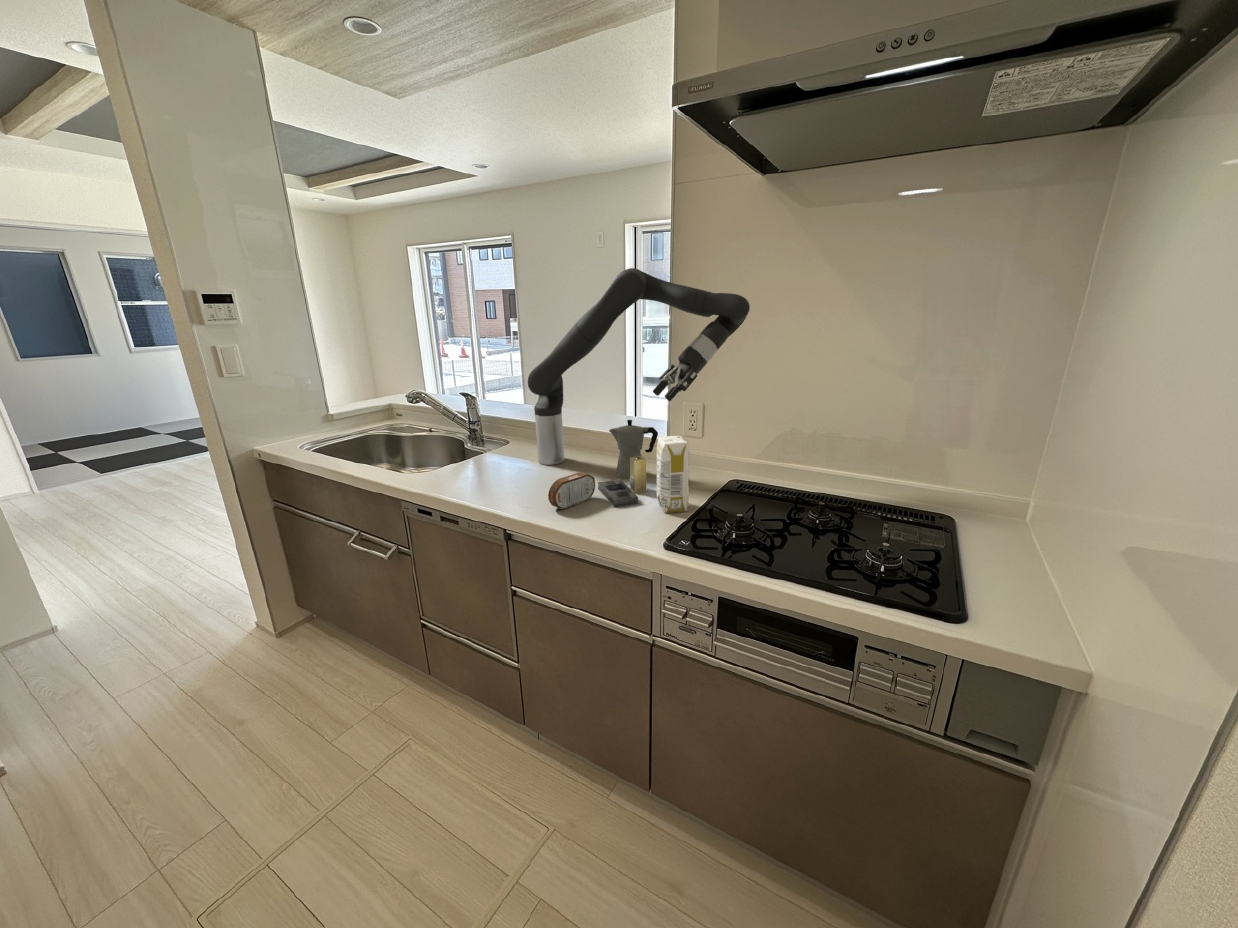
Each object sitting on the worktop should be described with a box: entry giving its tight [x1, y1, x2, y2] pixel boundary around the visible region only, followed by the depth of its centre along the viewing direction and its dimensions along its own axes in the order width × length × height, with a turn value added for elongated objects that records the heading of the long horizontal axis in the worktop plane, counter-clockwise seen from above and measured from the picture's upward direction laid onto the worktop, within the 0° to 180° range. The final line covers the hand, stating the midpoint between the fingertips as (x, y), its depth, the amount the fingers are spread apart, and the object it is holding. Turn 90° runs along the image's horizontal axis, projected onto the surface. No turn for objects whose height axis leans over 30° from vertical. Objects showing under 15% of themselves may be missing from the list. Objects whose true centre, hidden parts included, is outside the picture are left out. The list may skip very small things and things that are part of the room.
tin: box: [547, 471, 596, 510], centre depth 133 cm, size 15×3×8 cm, turn 135°
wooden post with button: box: [629, 456, 647, 494], centre depth 141 cm, size 4×4×10 cm
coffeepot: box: [608, 419, 659, 479], centre depth 154 cm, size 15×9×18 cm, turn 84°
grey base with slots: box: [597, 479, 639, 508], centre depth 139 cm, size 15×7×2 cm, turn 19°
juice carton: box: [656, 435, 691, 514], centre depth 128 cm, size 8×9×19 cm
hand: (660, 396), depth 140 cm, fingers open, 8 cm apart
